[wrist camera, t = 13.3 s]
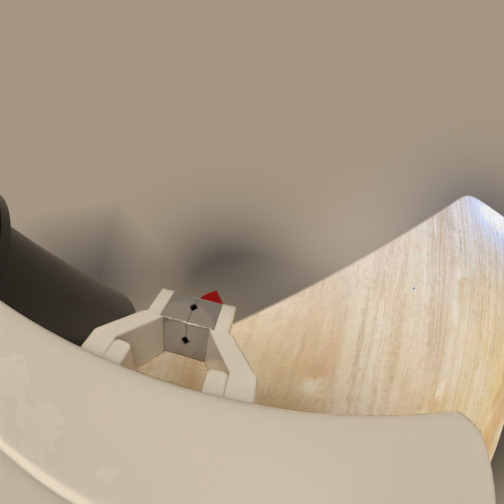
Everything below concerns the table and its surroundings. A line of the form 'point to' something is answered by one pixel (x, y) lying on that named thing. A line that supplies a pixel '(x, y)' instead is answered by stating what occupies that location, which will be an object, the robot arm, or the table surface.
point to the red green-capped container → (212, 297)
